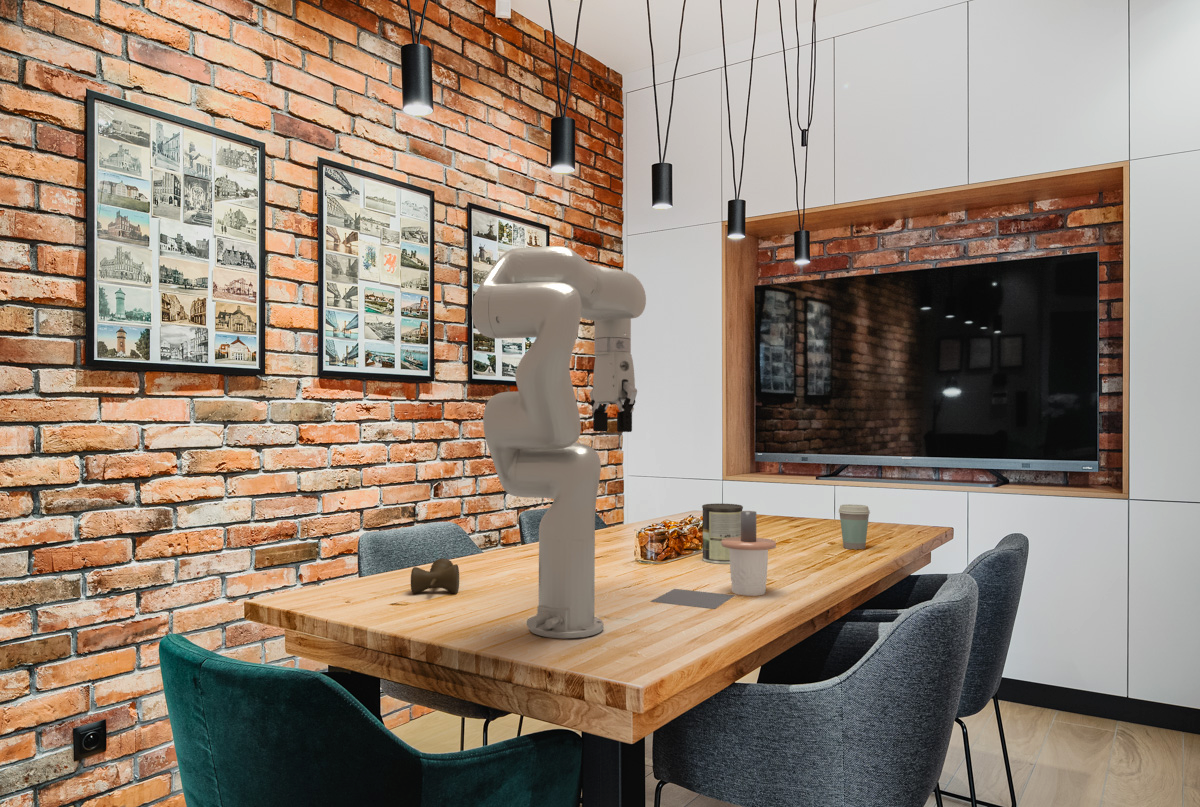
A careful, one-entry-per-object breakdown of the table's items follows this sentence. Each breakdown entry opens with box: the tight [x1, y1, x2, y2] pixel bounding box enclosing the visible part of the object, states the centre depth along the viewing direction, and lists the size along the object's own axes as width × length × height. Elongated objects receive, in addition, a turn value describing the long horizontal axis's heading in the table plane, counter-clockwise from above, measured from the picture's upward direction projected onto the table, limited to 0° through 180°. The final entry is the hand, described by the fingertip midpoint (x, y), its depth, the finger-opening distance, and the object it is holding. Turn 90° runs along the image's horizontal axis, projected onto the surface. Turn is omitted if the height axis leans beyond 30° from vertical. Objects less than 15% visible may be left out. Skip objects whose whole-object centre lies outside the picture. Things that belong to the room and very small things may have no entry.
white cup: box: [729, 548, 769, 597], centre depth 160 cm, size 8×8×10 cm
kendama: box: [410, 558, 460, 595], centre depth 164 cm, size 6×10×20 cm
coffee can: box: [701, 503, 744, 565], centre depth 200 cm, size 10×10×14 cm
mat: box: [649, 588, 736, 610], centre depth 153 cm, size 13×13×1 cm
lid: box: [721, 510, 777, 551], centre depth 160 cm, size 11×11×7 cm
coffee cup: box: [838, 504, 871, 551], centre depth 221 cm, size 8×8×12 cm
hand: (612, 431), depth 160 cm, fingers open, 9 cm apart
